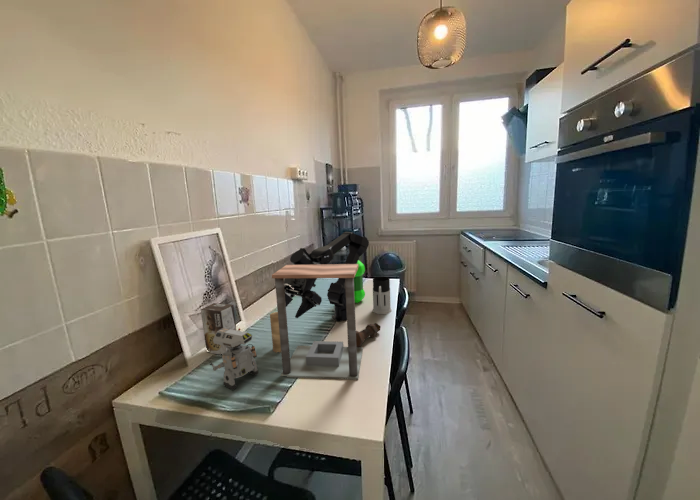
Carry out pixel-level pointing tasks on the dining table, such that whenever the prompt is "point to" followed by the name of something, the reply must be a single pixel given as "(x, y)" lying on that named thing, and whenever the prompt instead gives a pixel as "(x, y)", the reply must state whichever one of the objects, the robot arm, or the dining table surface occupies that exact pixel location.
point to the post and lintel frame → (297, 362)
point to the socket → (325, 359)
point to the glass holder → (381, 295)
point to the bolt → (366, 333)
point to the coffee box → (217, 324)
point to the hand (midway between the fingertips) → (287, 314)
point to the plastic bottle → (359, 283)
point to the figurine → (235, 355)
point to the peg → (275, 332)
